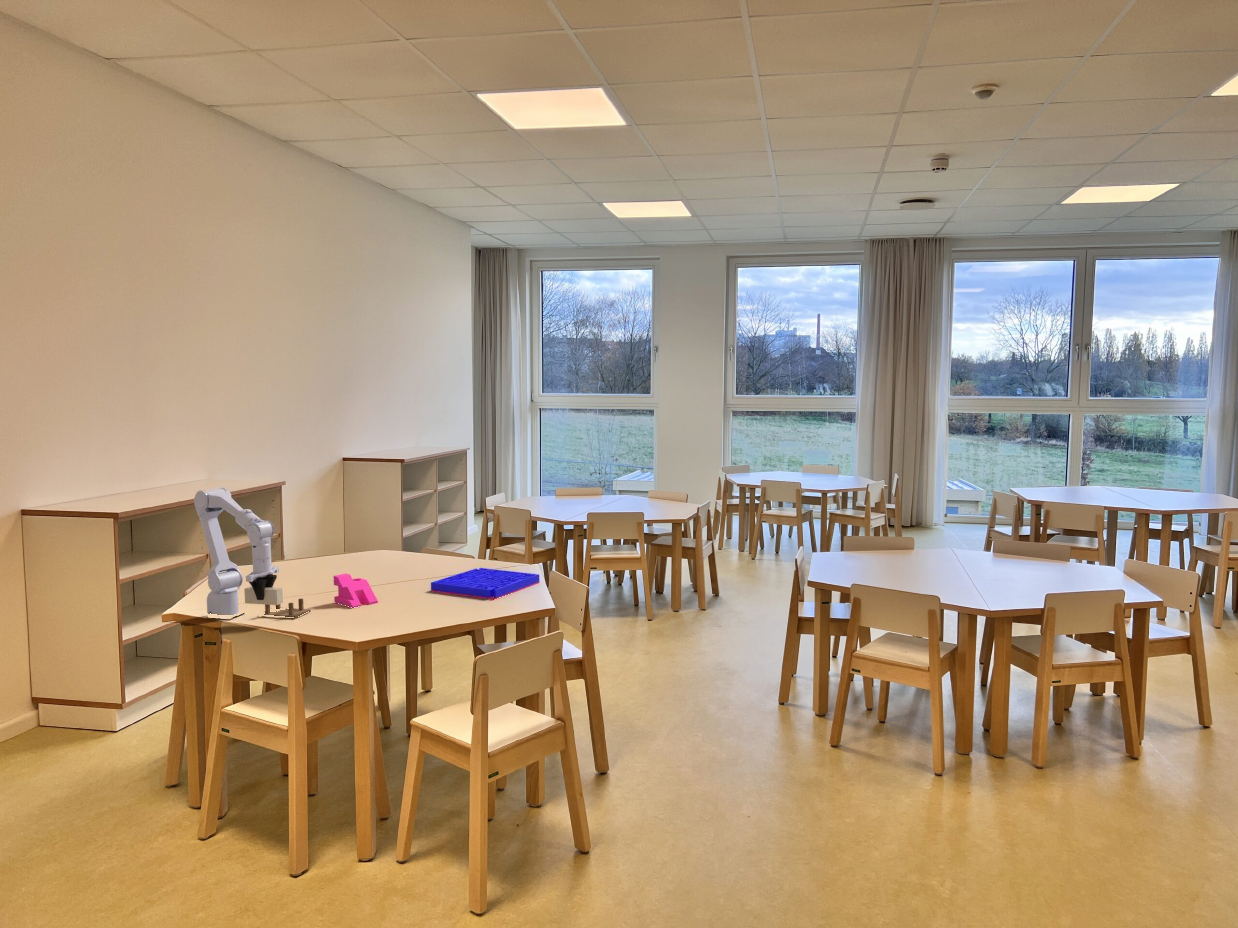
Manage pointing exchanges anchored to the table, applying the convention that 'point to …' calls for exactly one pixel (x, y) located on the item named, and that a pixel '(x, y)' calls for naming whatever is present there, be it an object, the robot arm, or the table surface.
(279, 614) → the rack
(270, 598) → the beige rectangular block
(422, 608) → the table surface
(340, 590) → the bracket
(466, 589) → the maze
